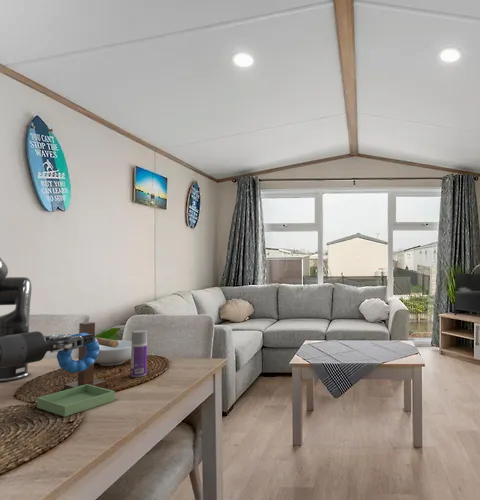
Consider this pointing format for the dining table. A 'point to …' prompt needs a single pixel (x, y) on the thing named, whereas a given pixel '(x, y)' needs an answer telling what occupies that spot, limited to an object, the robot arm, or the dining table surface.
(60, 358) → the ring
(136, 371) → the container
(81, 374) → the rack
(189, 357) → the dining table surface
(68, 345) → the robot arm
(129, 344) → the cereal bowl
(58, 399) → the tray
